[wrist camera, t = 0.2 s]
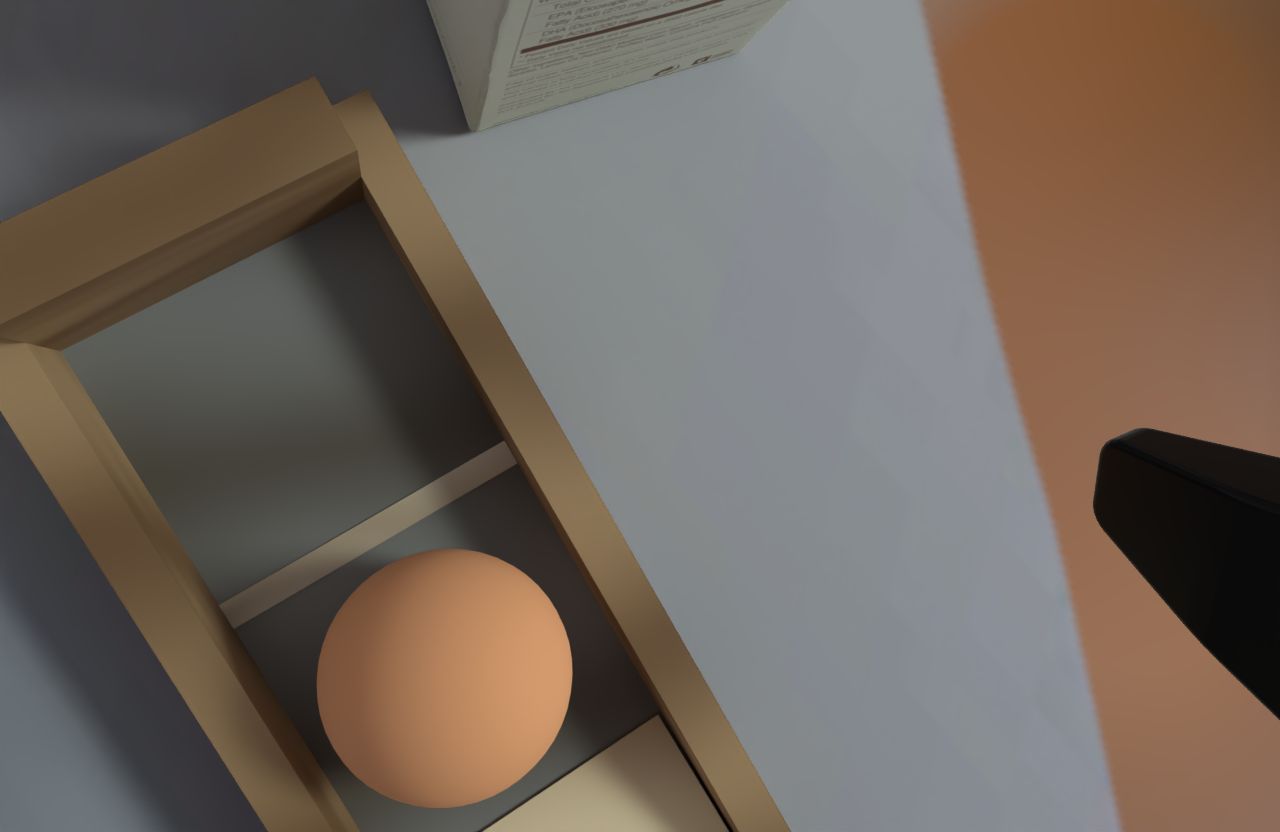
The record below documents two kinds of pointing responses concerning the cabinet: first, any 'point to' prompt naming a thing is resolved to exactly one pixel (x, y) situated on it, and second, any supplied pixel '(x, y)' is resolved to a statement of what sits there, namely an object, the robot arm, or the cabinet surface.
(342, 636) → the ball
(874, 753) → the cabinet surface
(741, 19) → the supplement box
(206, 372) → the wooden tray
